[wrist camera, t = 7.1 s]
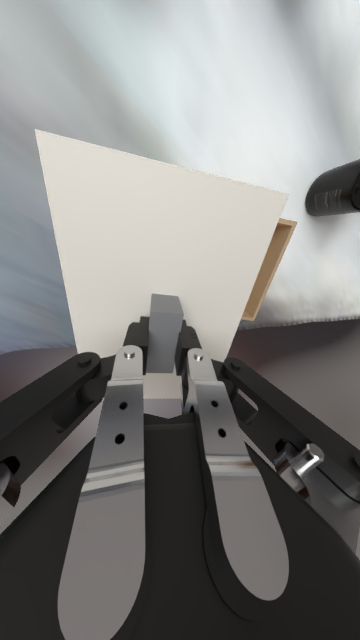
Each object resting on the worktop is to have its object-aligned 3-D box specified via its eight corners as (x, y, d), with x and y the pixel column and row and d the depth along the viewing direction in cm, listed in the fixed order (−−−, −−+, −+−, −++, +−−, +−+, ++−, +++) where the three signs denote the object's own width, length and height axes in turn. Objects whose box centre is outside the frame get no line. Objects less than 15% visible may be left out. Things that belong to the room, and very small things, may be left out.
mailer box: (270, 223, 31) (297, 222, 25) (239, 306, 40) (254, 320, 34) (212, 211, 29) (226, 206, 23) (193, 301, 38) (199, 315, 32)
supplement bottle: (330, 216, 32) (413, 210, 21) (298, 216, 31) (368, 209, 21) (348, 170, 28) (458, 137, 18) (313, 168, 28) (406, 132, 17)
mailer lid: (258, 202, 13) (336, 181, 7) (203, 376, 22) (218, 424, 16) (69, 157, 10) (-34, 72, 5) (97, 374, 19) (73, 431, 14)
